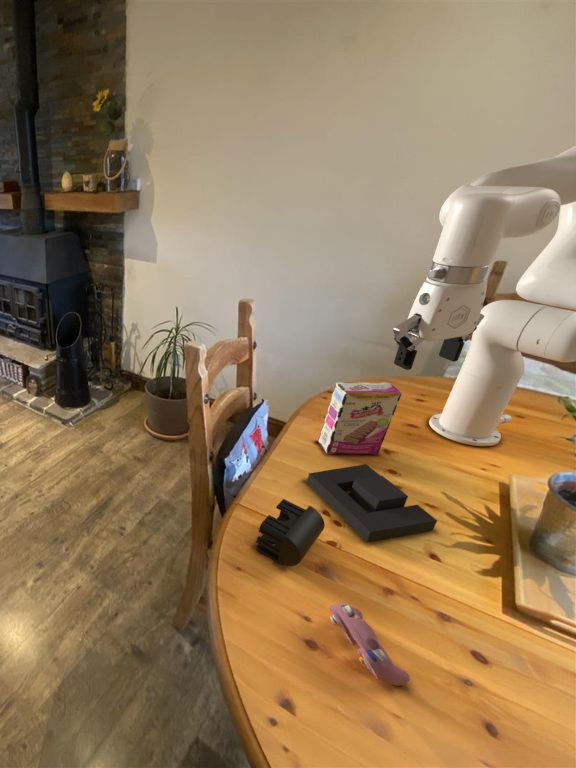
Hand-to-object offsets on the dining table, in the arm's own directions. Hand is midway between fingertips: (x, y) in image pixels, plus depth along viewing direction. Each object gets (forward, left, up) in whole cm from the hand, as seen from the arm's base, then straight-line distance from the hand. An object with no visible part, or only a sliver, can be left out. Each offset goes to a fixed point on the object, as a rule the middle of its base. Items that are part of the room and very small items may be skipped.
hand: (424, 362), depth 79 cm
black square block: (+11, +10, -25) cm, 29 cm away
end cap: (+34, +15, -25) cm, 44 cm away
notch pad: (+13, +9, -25) cm, 29 cm away
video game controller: (+35, +33, -25) cm, 54 cm away
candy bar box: (+4, -7, -25) cm, 26 cm away
